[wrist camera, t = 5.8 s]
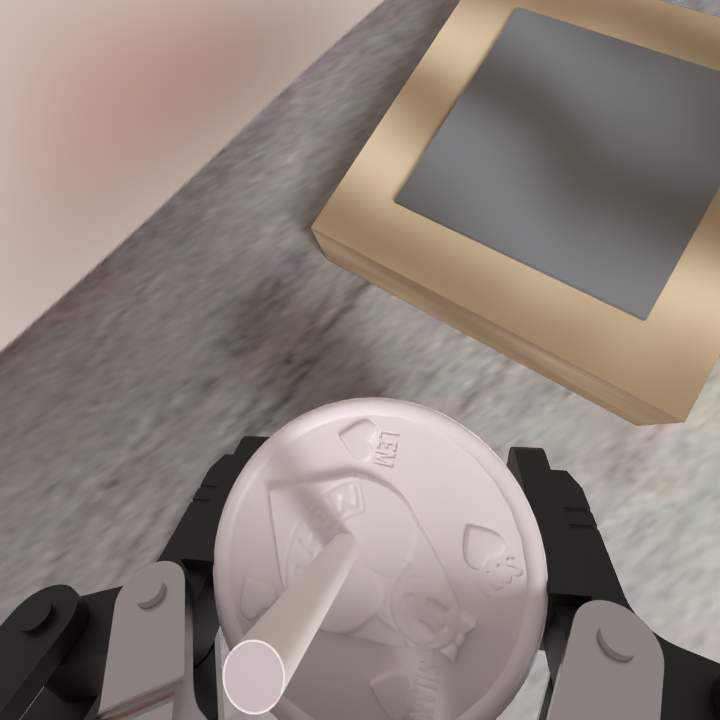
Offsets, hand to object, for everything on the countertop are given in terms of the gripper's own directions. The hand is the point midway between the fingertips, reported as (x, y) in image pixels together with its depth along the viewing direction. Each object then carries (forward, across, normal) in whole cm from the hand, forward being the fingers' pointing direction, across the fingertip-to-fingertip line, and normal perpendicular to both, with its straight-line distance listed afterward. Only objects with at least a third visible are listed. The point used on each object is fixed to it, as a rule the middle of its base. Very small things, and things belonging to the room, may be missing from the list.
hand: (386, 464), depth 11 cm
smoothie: (+3, 0, +6) cm, 7 cm away
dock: (+13, -7, -4) cm, 15 cm away
